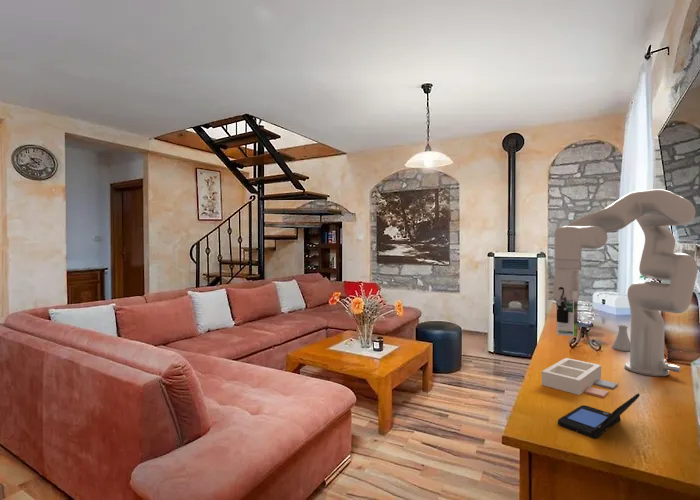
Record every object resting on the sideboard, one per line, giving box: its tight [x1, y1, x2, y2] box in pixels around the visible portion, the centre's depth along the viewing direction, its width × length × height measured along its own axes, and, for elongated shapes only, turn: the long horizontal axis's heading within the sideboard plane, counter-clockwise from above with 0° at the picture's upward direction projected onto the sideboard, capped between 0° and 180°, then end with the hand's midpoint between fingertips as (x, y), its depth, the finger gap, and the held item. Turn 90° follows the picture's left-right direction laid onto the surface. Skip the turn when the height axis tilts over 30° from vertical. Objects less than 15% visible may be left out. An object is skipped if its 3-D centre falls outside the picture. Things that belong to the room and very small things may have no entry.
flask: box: [611, 324, 630, 352], centre depth 163 cm, size 7×7×10 cm
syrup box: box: [556, 290, 579, 338], centre depth 124 cm, size 6×6×14 cm
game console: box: [557, 393, 640, 440], centre depth 97 cm, size 16×14×9 cm
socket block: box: [541, 357, 618, 399], centre depth 125 cm, size 16×20×4 cm
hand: (567, 320), depth 124 cm, fingers closed on syrup box, 7 cm apart
